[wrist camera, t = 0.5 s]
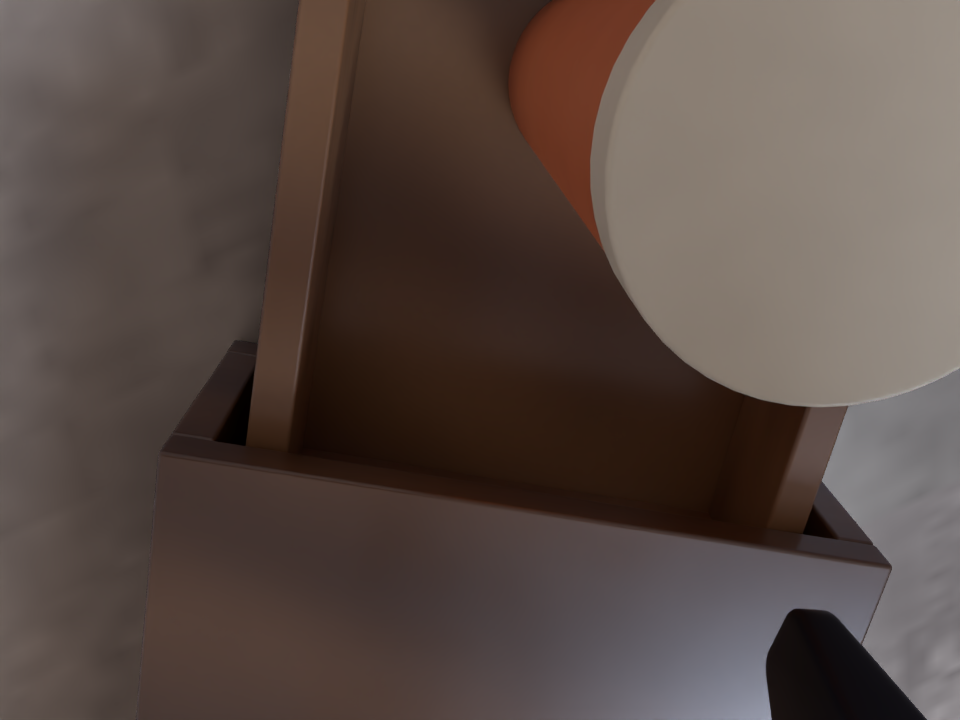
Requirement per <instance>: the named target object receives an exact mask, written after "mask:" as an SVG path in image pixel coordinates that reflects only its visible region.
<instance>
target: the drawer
mask: <svg viewBox="0 0 960 720" xmlns="http://www.w3.org/2000/svg"><path fill="white" fill-rule="evenodd" d="M551 1H552V0H299V3H298V11H297V19H296V28H295V36H294V45H293V53H292V61H291V70H290V78H289V86H288V95H287V103H286V112H285V120H284V128H283V137H282V145H281V154H280V162H279V170H278V179H277V187H276V195H275V204H274V212H273V221H272V229H271V237H270V246H269V254H268V263H267V271H266V279H265V288H264V296H263V304H262V313H261V321H260V330H259V338H258V346H257V355H256V363H255V372H254V380H253V388H252V397H251V405H250V413H249V422H248V430H247V439H246V446H248V447H254V448H261V449H267V450H273V451H280V452H286V453H292V454H299V455H305V456H311V457H318V458H324V459H330V460H337V461H343V462H349V463H355V464H362V465H368V466H374V467H381V468H387V469H393V470H400V471H406V472H412V473H419V474H425V475H431V476H438V477H444V478H450V479H457V480H463V481H469V482H475V483H482V484H488V485H494V486H501V487H507V488H513V489H520V490H526V491H532V492H539V493H545V494H551V495H558V496H564V497H570V498H577V499H583V500H589V501H595V502H602V503H608V504H614V505H621V506H627V507H633V508H640V509H646V510H652V511H659V512H665V513H671V514H678V515H684V516H690V517H697V518H703V519H709V520H715V521H722V522H728V523H734V524H741V525H747V526H753V527H760V528H766V529H772V530H779V531H785V532H791V533H798V534H803V532H804V529H805V526H806V523H807V520H808V517H809V515H810V512H811V509H812V506H813V503H814V501H815V498H816V495H817V492H818V489H819V487H820V484H821V481H822V478H823V475H824V472H825V470H826V467H827V464H828V461H829V458H830V456H831V453H832V450H833V447H834V444H835V442H836V439H837V436H838V433H839V430H840V427H841V425H842V422H843V419H844V416H845V413H846V411H847V408H848V406H835V407H807V406H792V405H785V404H780V403H775V402H770V401H765V400H760V399H757V398H754V397H751V396H748V395H745V394H742V393H739V392H736V391H733V390H731V389H729V388H727V387H725V386H723V385H721V384H719V383H717V382H715V381H713V380H711V379H709V378H707V377H706V376H704V375H703V374H701V373H700V372H698V371H697V370H696V369H694V368H693V367H691V366H690V365H688V364H687V363H685V362H684V361H683V360H682V359H681V358H679V357H678V356H677V355H676V354H675V353H674V352H673V351H672V350H671V349H670V348H669V347H667V346H666V345H665V344H664V343H663V342H662V341H661V339H660V338H659V337H658V336H657V335H656V333H655V332H654V331H653V330H652V329H651V327H650V326H649V325H648V324H647V322H646V321H645V320H644V319H643V317H642V316H641V314H640V313H639V311H638V310H637V308H636V307H635V305H634V304H633V302H632V301H631V299H630V298H629V297H628V295H627V293H626V292H625V290H624V288H623V287H622V285H621V284H620V282H619V280H618V279H617V277H616V275H615V274H614V272H613V270H612V267H611V265H610V263H609V260H608V258H607V256H606V254H605V252H604V250H603V249H602V248H601V246H600V245H599V243H598V242H597V241H596V239H595V238H594V236H593V235H592V233H591V232H590V231H589V229H588V228H587V226H586V225H585V224H584V222H583V221H582V219H581V218H580V216H579V215H578V214H577V212H576V211H575V209H574V208H573V206H572V205H571V204H570V202H569V201H568V199H567V198H566V197H565V195H564V194H563V192H562V191H561V189H560V188H559V187H558V185H557V184H556V182H555V181H554V180H553V178H552V177H551V175H550V174H549V172H548V171H547V170H546V168H545V167H544V165H543V164H542V162H541V161H540V160H539V158H538V157H537V155H536V154H535V153H534V151H533V150H532V148H531V147H530V145H529V144H528V143H527V141H526V140H525V138H524V137H523V135H522V133H521V132H520V130H519V128H518V126H517V124H516V121H515V119H514V116H513V113H512V109H511V105H510V99H509V89H508V79H509V69H510V64H511V59H512V56H513V53H514V50H515V47H516V44H517V42H518V40H519V38H520V36H521V34H522V32H523V31H524V29H525V28H526V26H527V25H528V23H529V22H530V21H531V20H532V18H533V17H534V16H535V15H536V14H537V13H538V12H539V11H540V10H541V9H542V8H543V7H544V6H546V5H547V4H548V3H549V2H551Z"/></svg>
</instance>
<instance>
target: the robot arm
mask: <svg viewBox="0 0 960 720" xmlns="http://www.w3.org/2000/svg"><path fill="white" fill-rule="evenodd" d="M766 679H767V687H768V694H769V702H770V710H771V718H772V720H927V719H926V718H925V717H924V716H923V715H922V713H921V712H920V711H919V710H918V709H917V708H916V707H915V705H914V704H913V703H912V702H911V701H910V700H909V699H908V697H907V696H906V695H905V694H904V693H903V692H902V691H901V689H900V688H899V687H898V686H897V685H896V684H895V683H894V681H893V680H892V679H891V678H890V677H889V676H888V675H887V673H886V672H885V671H884V670H883V669H882V668H881V667H880V665H879V664H878V663H877V662H876V661H875V660H874V659H873V657H872V656H871V655H870V654H869V653H868V652H867V651H866V649H865V648H864V647H863V646H862V645H861V644H860V643H859V641H858V640H857V639H856V638H855V637H854V636H853V635H852V634H851V632H850V631H849V630H848V629H847V628H846V627H845V626H844V624H843V623H842V622H841V621H840V620H839V619H838V618H837V617H836V616H835V615H834V614H832V613H831V612H829V611H825V610H814V609H793V610H792V611H790V612H789V613H788V614H787V616H786V617H785V619H784V621H783V623H782V625H781V627H780V629H779V631H778V633H777V635H776V637H775V639H774V641H773V643H772V645H771V647H770V649H769V651H768V654H767V658H766Z"/></svg>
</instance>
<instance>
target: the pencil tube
mask: <svg viewBox="0 0 960 720" xmlns="http://www.w3.org/2000/svg"><path fill="white" fill-rule="evenodd" d="M508 89H509V99H510V105H511V109H512V113H513V116H514V119H515V121H516V124H517V126H518V128H519V130H520V132H521V133H522V135H523V137H524V138H525V140H526V141H527V143H528V144H529V145H530V147H531V148H532V150H533V151H534V153H535V154H536V155H537V157H538V158H539V160H540V161H541V162H542V164H543V165H544V167H545V168H546V170H547V171H548V172H549V174H550V175H551V177H552V178H553V180H554V181H555V182H556V184H557V185H558V187H559V188H560V189H561V191H562V192H563V194H564V195H565V197H566V198H567V199H568V201H569V202H570V204H571V205H572V206H573V208H574V209H575V211H576V212H577V214H578V215H579V216H580V218H581V219H582V221H583V222H584V224H585V225H586V226H587V228H588V229H589V231H590V232H591V233H592V235H593V236H594V238H595V239H596V241H597V242H598V243H599V245H600V246H601V248H602V249H603V250H604V252H605V254H606V256H607V258H608V260H609V263H610V265H611V267H612V270H613V272H614V274H615V275H616V277H617V279H618V280H619V282H620V284H621V285H622V287H623V288H624V290H625V292H626V293H627V295H628V297H629V298H630V299H631V301H632V302H633V304H634V305H635V307H636V308H637V310H638V311H639V313H640V314H641V316H642V317H643V319H644V320H645V321H646V322H647V324H648V325H649V326H650V327H651V329H652V330H653V331H654V332H655V333H656V335H657V336H658V337H659V338H660V339H661V341H662V342H663V343H664V344H665V345H666V346H667V347H669V348H670V349H671V350H672V351H673V352H674V353H675V354H676V355H677V356H678V357H679V358H681V359H682V360H683V361H684V362H685V363H687V364H688V365H690V366H691V367H693V368H694V369H696V370H697V371H698V372H700V373H701V374H703V375H704V376H706V377H707V378H709V379H711V380H713V381H715V382H717V383H719V384H721V385H723V386H725V387H727V388H729V389H731V390H733V391H736V392H739V393H742V394H745V395H748V396H751V397H754V398H757V399H760V400H765V401H770V402H775V403H780V404H785V405H792V406H807V407H835V406H852V405H857V404H863V403H869V402H874V401H880V400H884V399H887V398H890V397H894V396H897V395H900V394H904V393H907V392H911V391H913V390H915V389H918V388H920V387H922V386H925V385H927V384H929V383H932V382H934V381H937V380H939V379H941V378H943V377H945V376H946V375H948V374H950V373H952V372H953V371H955V370H957V369H959V368H960V0H552V1H551V2H549V3H548V4H547V5H546V6H544V7H543V8H542V9H541V10H540V11H539V12H538V13H537V14H536V15H535V16H534V17H533V18H532V20H531V21H530V22H529V23H528V25H527V26H526V28H525V29H524V31H523V32H522V34H521V36H520V38H519V40H518V42H517V44H516V47H515V50H514V53H513V56H512V59H511V64H510V69H509V79H508Z"/></svg>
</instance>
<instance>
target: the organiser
mask: <svg viewBox="0 0 960 720" xmlns="http://www.w3.org/2000/svg"><path fill="white" fill-rule="evenodd" d="M257 346H258V344H256V343H250V342H244V341H238V340H235V341H234V342H233V344H232V345H231V347H230V348H229V350H228V351H227V353H226V355H225V356H224V358H223V359H222V361H221V362H220V364H219V365H218V366H217V368H216V369H215V371H214V372H213V374H212V375H211V377H210V378H209V380H208V381H207V383H206V384H205V386H204V387H203V388H202V390H201V391H200V393H199V394H198V396H197V397H196V399H195V400H194V402H193V403H192V405H191V406H190V408H189V409H188V411H187V412H186V413H185V415H184V416H183V418H182V419H181V421H180V422H179V424H178V425H177V427H176V428H175V430H174V431H173V433H172V434H171V436H170V437H169V439H168V440H167V441H166V443H165V444H164V446H163V447H162V449H161V450H160V452H159V454H158V464H157V476H156V488H155V500H154V511H153V523H152V535H151V547H150V559H149V571H148V582H147V594H146V606H145V618H144V630H143V642H142V653H141V665H140V677H139V689H138V701H137V713H136V720H772V718H771V710H770V702H769V694H768V687H767V679H766V658H767V654H768V651H769V649H770V647H771V645H772V643H773V641H774V639H775V637H776V635H777V633H778V631H779V629H780V627H781V625H782V623H783V621H784V619H785V617H786V616H787V614H788V613H789V612H790V611H792V610H793V609H814V610H825V611H829V612H831V613H832V614H834V615H835V616H836V617H837V618H838V619H839V620H840V621H841V622H842V623H843V624H844V626H845V627H846V628H847V629H848V630H849V631H850V632H851V634H852V635H853V636H854V637H855V638H856V639H857V640H858V641H859V643H860V644H861V645H862V643H863V640H864V638H865V635H866V633H867V630H868V628H869V625H870V623H871V620H872V618H873V615H874V613H875V610H876V608H877V605H878V603H879V600H880V598H881V595H882V593H883V590H884V588H885V585H886V583H887V580H888V578H889V575H890V573H891V570H892V566H891V564H890V563H889V562H888V561H887V559H886V558H885V557H884V556H883V555H882V553H881V552H880V551H879V550H878V549H877V547H875V546H873V543H872V541H871V540H870V539H869V538H868V537H867V535H866V534H865V533H864V532H863V531H862V529H861V528H860V527H859V526H858V524H857V523H856V522H855V521H854V520H853V518H852V517H851V516H850V515H849V514H848V512H847V511H846V510H845V509H844V508H843V506H842V505H841V504H840V503H839V502H838V500H837V499H836V498H835V497H834V495H833V494H832V493H831V492H830V491H829V489H828V488H827V487H826V486H825V485H824V483H823V482H822V481H821V484H820V487H819V489H818V492H817V495H816V498H815V501H814V503H813V506H812V509H811V512H810V515H809V517H808V520H807V523H806V526H805V529H804V532H803V534H798V533H791V532H785V531H779V530H772V529H766V528H760V527H753V526H747V525H741V524H734V523H728V522H722V521H715V520H709V519H703V518H697V517H690V516H684V515H678V514H671V513H665V512H659V511H652V510H646V509H640V508H633V507H627V506H621V505H614V504H608V503H602V502H595V501H589V500H583V499H577V498H570V497H564V496H558V495H551V494H545V493H539V492H532V491H526V490H520V489H513V488H507V487H501V486H494V485H488V484H482V483H475V482H469V481H463V480H457V479H450V478H444V477H438V476H431V475H425V474H419V473H412V472H406V471H400V470H393V469H387V468H381V467H374V466H368V465H362V464H355V463H349V462H343V461H337V460H330V459H324V458H318V457H311V456H305V455H299V454H292V453H286V452H280V451H273V450H267V449H261V448H254V447H248V446H246V439H247V430H248V422H249V413H250V405H251V397H252V388H253V380H254V372H255V363H256V355H257Z"/></svg>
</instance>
